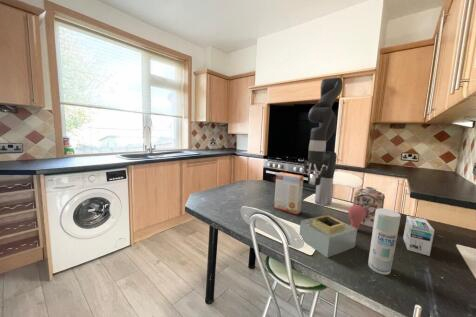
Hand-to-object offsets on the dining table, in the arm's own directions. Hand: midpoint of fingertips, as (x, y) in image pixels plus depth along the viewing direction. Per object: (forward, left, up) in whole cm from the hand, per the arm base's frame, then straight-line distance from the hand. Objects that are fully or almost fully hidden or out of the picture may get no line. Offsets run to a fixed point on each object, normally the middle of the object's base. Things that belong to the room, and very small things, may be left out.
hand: (313, 183), depth 97 cm
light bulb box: (-22, +35, -20) cm, 46 cm away
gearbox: (+10, +18, -19) cm, 28 cm away
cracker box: (+3, -14, -19) cm, 24 cm away
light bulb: (-12, +16, -19) cm, 28 cm away
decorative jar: (-26, +13, -19) cm, 35 cm away
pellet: (0, 0, 0) cm, 0 cm away
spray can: (+6, +36, -19) cm, 41 cm away
